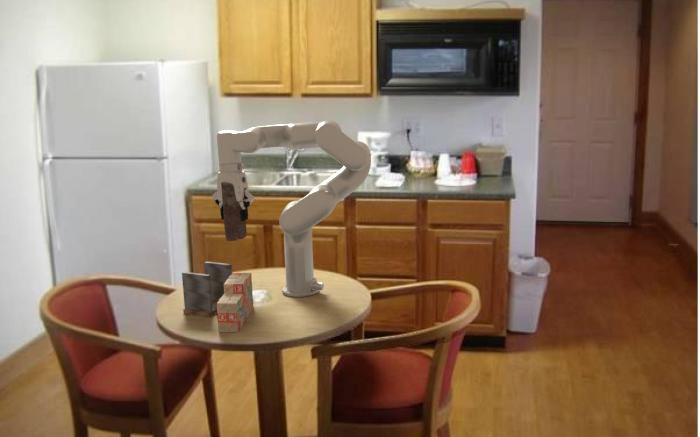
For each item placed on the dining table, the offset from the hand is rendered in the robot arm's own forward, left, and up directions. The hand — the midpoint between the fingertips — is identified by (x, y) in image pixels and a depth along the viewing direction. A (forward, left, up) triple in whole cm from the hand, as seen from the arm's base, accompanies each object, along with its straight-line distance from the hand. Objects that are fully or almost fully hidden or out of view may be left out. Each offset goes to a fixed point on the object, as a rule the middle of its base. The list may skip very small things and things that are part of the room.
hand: (234, 219), depth 260 cm
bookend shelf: (0, +17, -26) cm, 31 cm away
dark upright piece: (0, 0, -7) cm, 7 cm away
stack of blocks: (-14, +23, -26) cm, 38 cm away
